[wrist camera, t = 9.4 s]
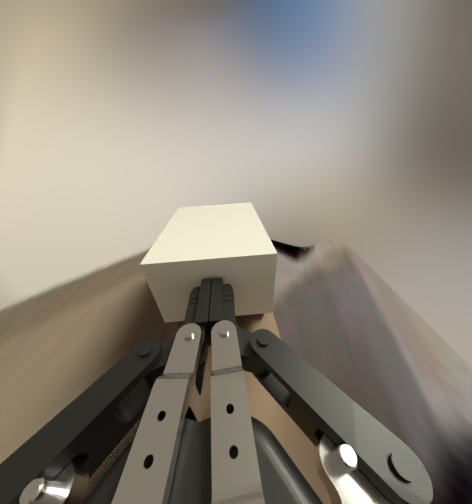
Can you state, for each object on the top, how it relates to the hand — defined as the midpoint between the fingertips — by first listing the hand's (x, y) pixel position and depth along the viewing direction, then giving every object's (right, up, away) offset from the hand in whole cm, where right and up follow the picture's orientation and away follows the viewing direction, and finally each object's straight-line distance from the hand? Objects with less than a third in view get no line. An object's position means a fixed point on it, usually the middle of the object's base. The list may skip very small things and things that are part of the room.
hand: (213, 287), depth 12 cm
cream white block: (0, -2, +8) cm, 8 cm away
